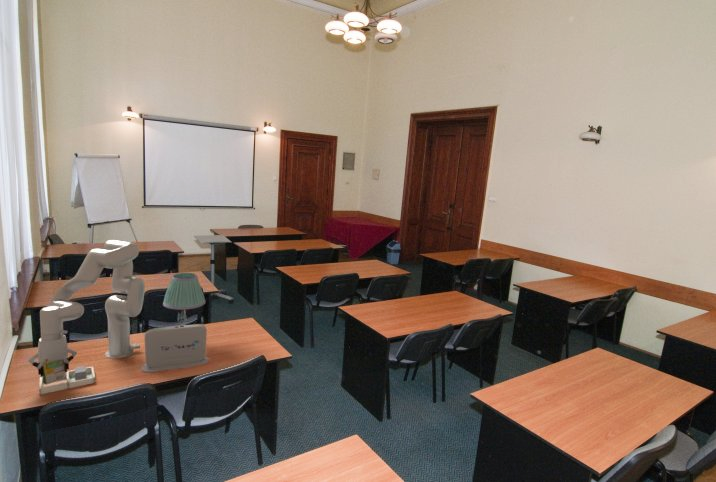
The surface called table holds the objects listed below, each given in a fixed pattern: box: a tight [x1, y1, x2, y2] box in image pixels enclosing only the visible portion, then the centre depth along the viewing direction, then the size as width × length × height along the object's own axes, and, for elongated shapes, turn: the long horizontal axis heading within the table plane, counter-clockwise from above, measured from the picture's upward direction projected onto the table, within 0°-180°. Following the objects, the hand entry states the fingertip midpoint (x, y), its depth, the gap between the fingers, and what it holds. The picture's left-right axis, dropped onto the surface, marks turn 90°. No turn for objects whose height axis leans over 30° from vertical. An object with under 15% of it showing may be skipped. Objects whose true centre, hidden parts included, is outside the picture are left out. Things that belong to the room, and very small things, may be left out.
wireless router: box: [140, 323, 210, 373], centre depth 197 cm, size 31×10×20 cm, turn 117°
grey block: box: [74, 365, 87, 381], centre depth 176 cm, size 4×6×5 cm, turn 37°
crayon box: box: [42, 359, 65, 385], centre depth 170 cm, size 7×3×12 cm, turn 149°
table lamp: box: [162, 272, 207, 325], centre depth 217 cm, size 22×22×40 cm
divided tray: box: [38, 365, 96, 395], centre depth 174 cm, size 19×12×3 cm, turn 127°
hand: (54, 373), depth 170 cm, fingers closed on crayon box, 7 cm apart
